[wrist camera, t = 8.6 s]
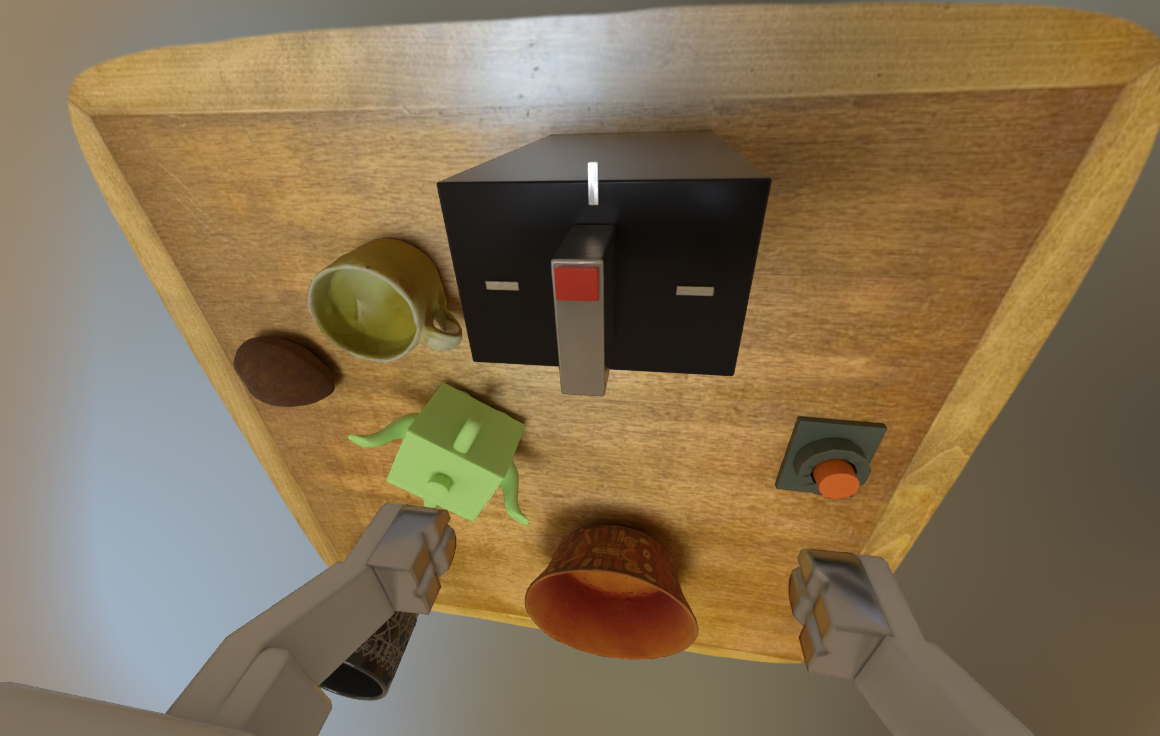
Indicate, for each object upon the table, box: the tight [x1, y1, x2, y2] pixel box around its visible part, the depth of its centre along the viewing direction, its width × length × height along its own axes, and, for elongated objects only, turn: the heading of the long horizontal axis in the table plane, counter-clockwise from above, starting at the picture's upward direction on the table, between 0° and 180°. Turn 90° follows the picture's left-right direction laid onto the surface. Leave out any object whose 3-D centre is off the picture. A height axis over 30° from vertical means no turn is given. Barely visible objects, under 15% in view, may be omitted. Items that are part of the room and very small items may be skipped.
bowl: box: [525, 525, 698, 660], centre depth 55 cm, size 21×21×10 cm
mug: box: [307, 239, 462, 362], centre depth 39 cm, size 12×10×10 cm
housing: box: [775, 417, 887, 497], centre depth 44 cm, size 10×8×2 cm
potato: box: [233, 336, 335, 407], centre depth 46 cm, size 7×10×7 cm
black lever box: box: [437, 130, 772, 376], centre depth 25 cm, size 12×9×20 cm
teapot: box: [348, 383, 529, 525], centre depth 46 cm, size 15×13×11 cm
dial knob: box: [551, 225, 615, 396], centre depth 15 cm, size 5×2×4 cm, turn 2°
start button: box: [813, 459, 860, 499], centre depth 42 cm, size 4×4×2 cm
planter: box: [319, 611, 418, 701], centre depth 62 cm, size 13×13×18 cm
